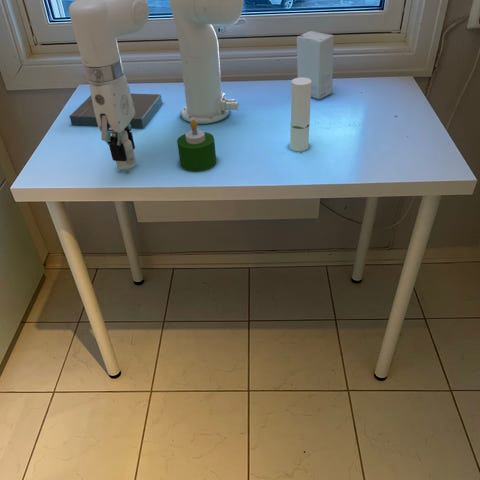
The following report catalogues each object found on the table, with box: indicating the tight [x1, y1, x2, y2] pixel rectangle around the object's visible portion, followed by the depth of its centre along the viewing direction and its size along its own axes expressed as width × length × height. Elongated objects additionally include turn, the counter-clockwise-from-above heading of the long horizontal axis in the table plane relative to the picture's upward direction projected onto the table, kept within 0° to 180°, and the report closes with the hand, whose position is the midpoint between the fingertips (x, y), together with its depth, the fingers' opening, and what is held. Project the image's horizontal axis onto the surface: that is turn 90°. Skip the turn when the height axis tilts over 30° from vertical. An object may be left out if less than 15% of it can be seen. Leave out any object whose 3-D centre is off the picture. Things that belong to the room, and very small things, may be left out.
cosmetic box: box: [296, 30, 335, 100], centre depth 139 cm, size 8×6×15 cm
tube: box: [289, 77, 312, 152], centre depth 117 cm, size 4×4×15 cm
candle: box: [176, 120, 217, 172], centre depth 116 cm, size 8×8×10 cm
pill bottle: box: [110, 130, 137, 170], centre depth 116 cm, size 4×4×8 cm
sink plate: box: [69, 93, 163, 129], centre depth 140 cm, size 20×16×2 cm
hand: (124, 153), depth 117 cm, fingers closed on pill bottle, 4 cm apart
